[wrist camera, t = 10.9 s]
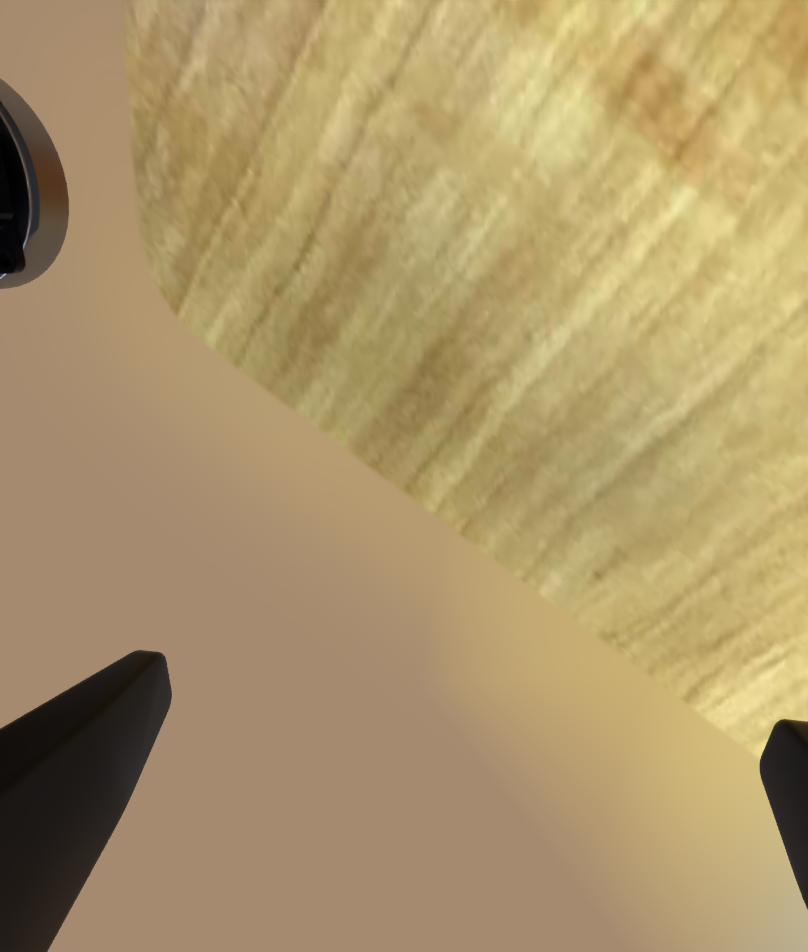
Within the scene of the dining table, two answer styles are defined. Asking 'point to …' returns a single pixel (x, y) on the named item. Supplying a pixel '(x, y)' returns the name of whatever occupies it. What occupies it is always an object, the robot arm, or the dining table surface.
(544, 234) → the dining table surface
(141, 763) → the robot arm
